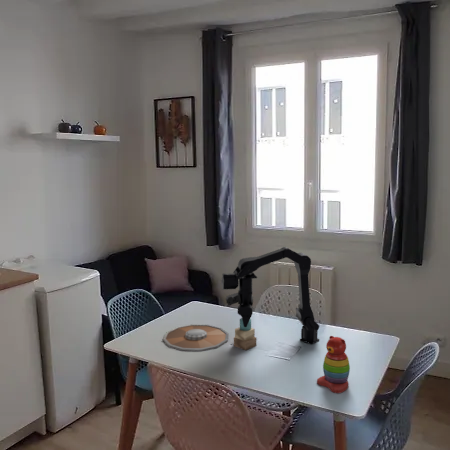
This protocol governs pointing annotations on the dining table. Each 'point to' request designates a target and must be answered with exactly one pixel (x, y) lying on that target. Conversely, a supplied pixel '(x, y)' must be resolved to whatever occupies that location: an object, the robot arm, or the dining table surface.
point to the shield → (196, 337)
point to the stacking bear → (335, 366)
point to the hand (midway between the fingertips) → (245, 323)
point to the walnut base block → (245, 343)
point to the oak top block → (244, 334)
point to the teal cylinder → (245, 327)
